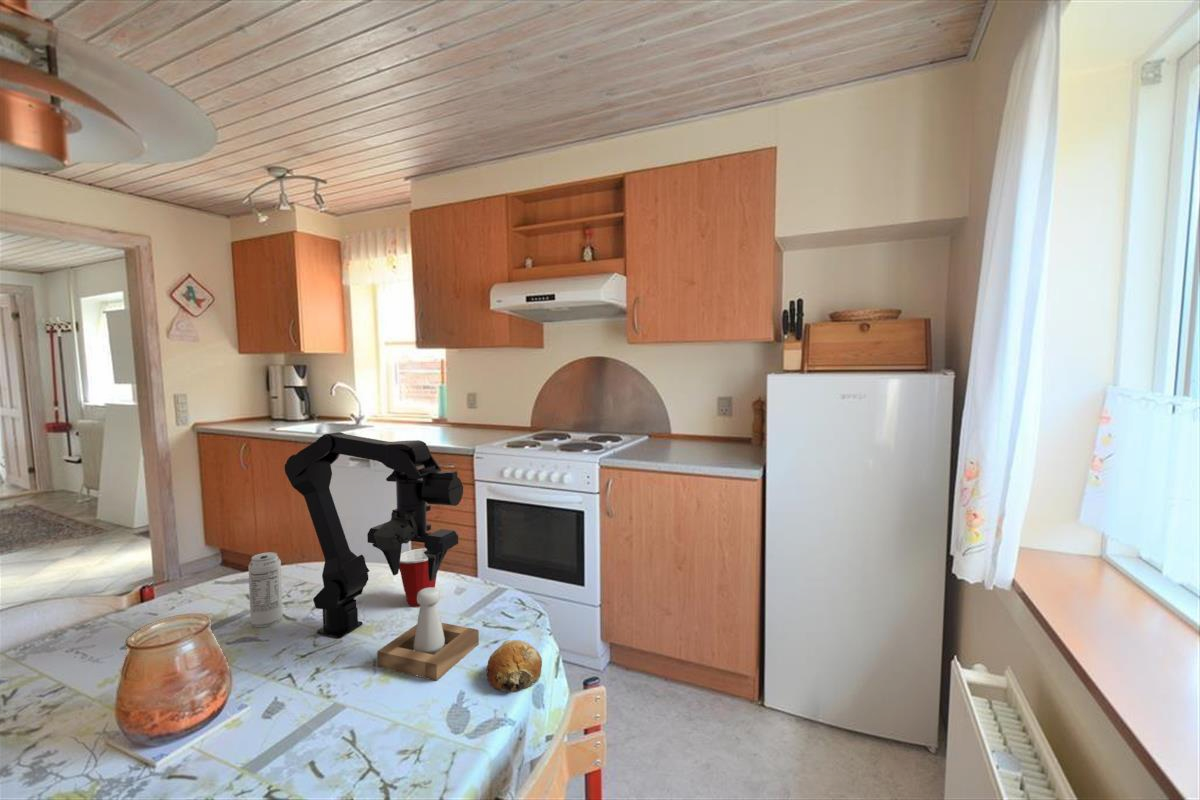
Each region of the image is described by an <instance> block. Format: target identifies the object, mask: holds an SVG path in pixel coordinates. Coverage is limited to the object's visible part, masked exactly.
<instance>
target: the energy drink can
mask: <svg viewBox="0 0 1200 800" xmlns="http://www.w3.org/2000/svg"><path fill="white" fill-rule="evenodd" d="M247 568H248V584H249V585H248V586H249V588H248V589H249V608H250V609H249V611H250V623H251V624H253V627H255V628H257V627H259V628H260V629H261V628H268V627H271V625H272V626H275V625H277V622H278V623H279V622H280V621H281V618H282V617H283V616H284V614H283V612H284V611H283V610H284V608H283V607H284V606H283V586H282V560H281V559H280V558H279V556H278V553H277V552H274V551H272V552H271V551H269V552H268V551H267V552H263V553H257V554H256V555H253V556H251V561H250V562H249V564H248V567H247ZM267 626H268V627H267Z"/></svg>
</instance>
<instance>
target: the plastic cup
mask: <svg viewBox="0 0 1200 800" xmlns="http://www.w3.org/2000/svg"><path fill="white" fill-rule="evenodd" d="M425 551H427V549H426V548H425V547H424V548H416V549H411V550H406V551H404V552H401V557H400V566H399V572H400V577H401V581H402V587H403V591H404V595H405V598H406V602H407V605H408V606H409V607H414V608H415V607H416V608H417V607H419V608H420V605H419V604H418V602H417V594H418V592H419V591H420V590H422V589H424V588H429V587H434V588H436V583H437V582H436V581H437V574H438V573H437V574H436V577H435V579H434V580H433V581H429V573H428V557H427V556H426V555H425V554H424V552H425Z"/></svg>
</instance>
